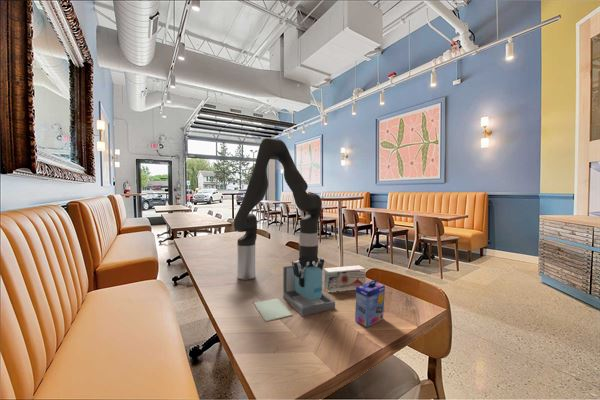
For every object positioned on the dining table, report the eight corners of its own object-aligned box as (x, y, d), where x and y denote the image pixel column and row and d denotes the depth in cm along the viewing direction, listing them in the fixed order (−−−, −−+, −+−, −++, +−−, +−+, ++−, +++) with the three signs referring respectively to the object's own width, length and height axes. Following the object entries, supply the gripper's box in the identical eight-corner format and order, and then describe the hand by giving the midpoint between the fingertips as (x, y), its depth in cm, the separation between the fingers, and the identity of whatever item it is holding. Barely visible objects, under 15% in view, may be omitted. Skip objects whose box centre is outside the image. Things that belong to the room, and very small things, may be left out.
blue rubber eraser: (322, 299, 95) (322, 268, 94) (313, 302, 92) (313, 271, 92) (303, 289, 104) (303, 261, 104) (294, 291, 102) (295, 263, 101)
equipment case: (283, 297, 103) (283, 266, 103) (312, 291, 110) (312, 262, 109) (302, 316, 87) (302, 280, 87) (335, 308, 93) (335, 274, 93)
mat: (253, 303, 97) (253, 302, 97) (277, 299, 101) (277, 298, 101) (265, 321, 83) (265, 320, 83) (292, 315, 88) (292, 314, 88)
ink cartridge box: (367, 328, 80) (368, 284, 79) (354, 321, 84) (354, 279, 84) (385, 319, 86) (385, 278, 85) (371, 312, 90) (372, 274, 90)
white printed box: (327, 293, 108) (328, 272, 108) (323, 288, 114) (323, 268, 113) (367, 288, 114) (367, 268, 114) (361, 284, 119) (361, 265, 119)
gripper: (319, 240, 104) (318, 279, 105) (288, 243, 98) (287, 285, 98) (329, 243, 97) (328, 286, 98) (296, 247, 91) (295, 292, 92)
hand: (308, 285), depth 98 cm, fingers closed on blue rubber eraser, 5 cm apart
